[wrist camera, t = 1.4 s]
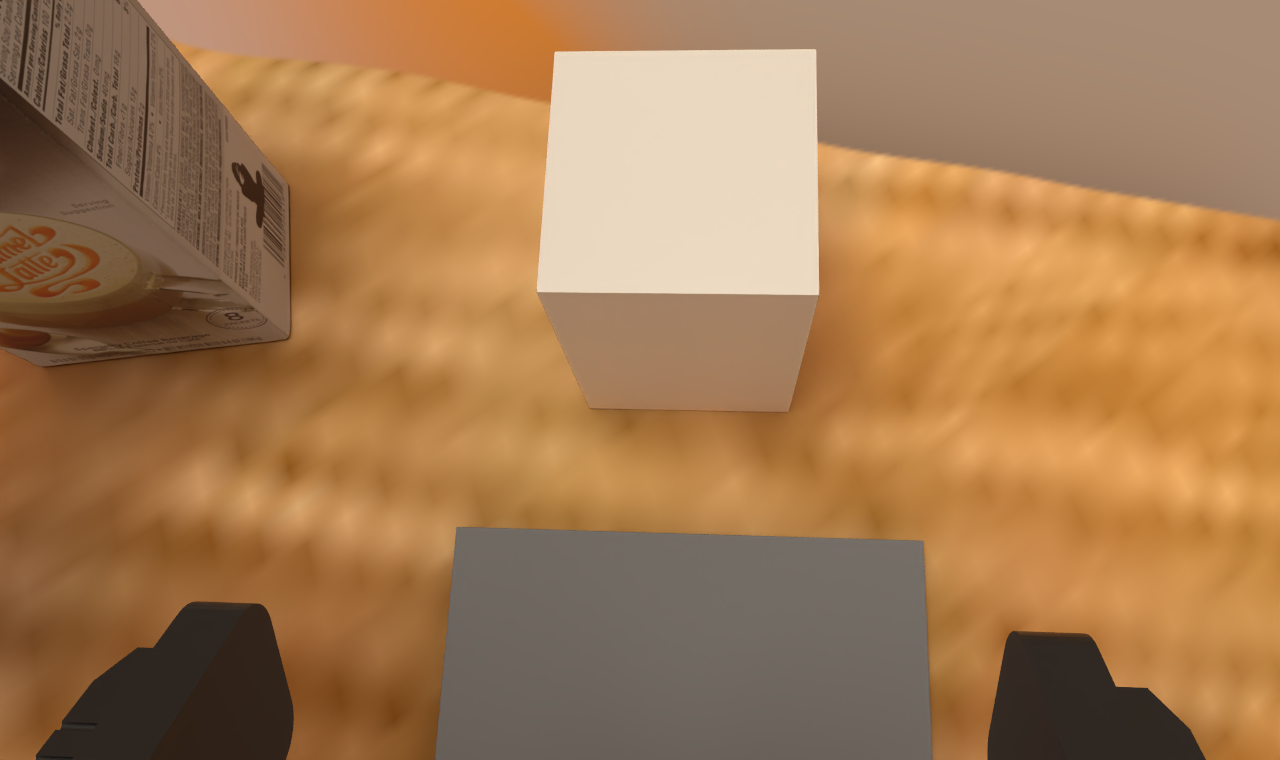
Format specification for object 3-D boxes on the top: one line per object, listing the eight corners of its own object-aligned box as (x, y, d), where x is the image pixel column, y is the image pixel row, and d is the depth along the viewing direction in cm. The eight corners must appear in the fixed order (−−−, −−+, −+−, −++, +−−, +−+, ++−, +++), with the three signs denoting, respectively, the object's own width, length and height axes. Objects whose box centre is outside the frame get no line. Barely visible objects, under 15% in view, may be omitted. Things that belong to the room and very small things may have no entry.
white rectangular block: (788, 412, 32) (819, 295, 22) (589, 408, 32) (536, 292, 23) (788, 229, 34) (816, 49, 24) (599, 228, 34) (554, 51, 25)
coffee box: (35, 376, 34) (-515, 125, 19) (48, 208, 36) (-442, -143, 21) (297, 342, 34) (-48, 59, 19) (296, 175, 36) (-17, -207, 21)
